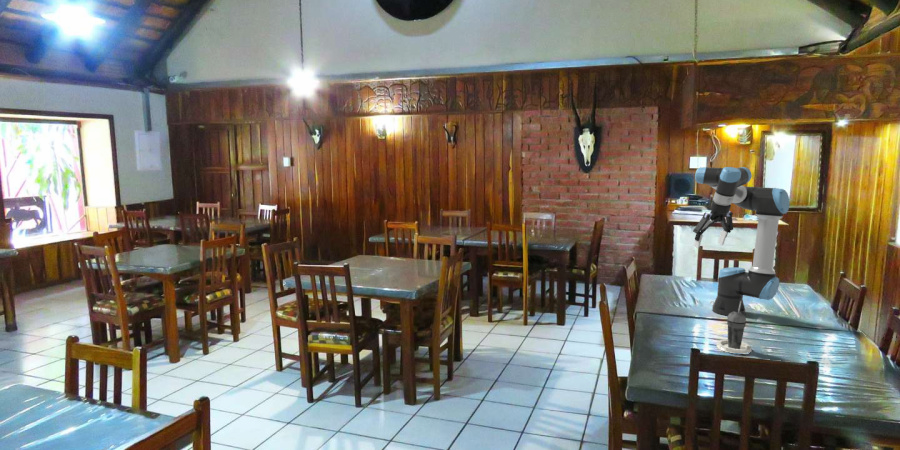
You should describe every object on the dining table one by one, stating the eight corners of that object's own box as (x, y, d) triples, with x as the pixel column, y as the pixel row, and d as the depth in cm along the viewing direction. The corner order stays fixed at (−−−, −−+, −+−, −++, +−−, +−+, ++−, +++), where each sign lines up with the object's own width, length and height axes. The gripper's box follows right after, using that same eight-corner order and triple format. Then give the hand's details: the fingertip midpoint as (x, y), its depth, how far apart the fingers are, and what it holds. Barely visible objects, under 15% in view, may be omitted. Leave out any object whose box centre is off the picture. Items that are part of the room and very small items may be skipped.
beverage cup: (720, 344, 235) (724, 298, 232) (737, 344, 235) (741, 298, 233) (730, 350, 228) (735, 303, 225) (747, 350, 228) (752, 303, 225)
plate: (744, 344, 237) (744, 340, 237) (756, 356, 225) (757, 351, 224) (712, 343, 239) (712, 338, 239) (722, 354, 226) (723, 349, 226)
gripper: (704, 208, 234) (691, 252, 243) (750, 203, 242) (736, 246, 251) (692, 200, 240) (680, 243, 250) (738, 197, 248) (724, 238, 257)
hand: (708, 245), depth 250 cm, fingers open, 13 cm apart
